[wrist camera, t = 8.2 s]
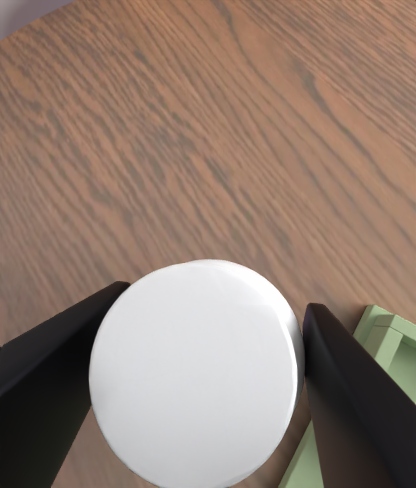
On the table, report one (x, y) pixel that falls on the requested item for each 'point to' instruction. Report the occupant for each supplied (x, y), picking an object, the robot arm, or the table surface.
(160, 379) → the pill bottle
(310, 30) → the table surface
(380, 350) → the socket pad
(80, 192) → the table surface
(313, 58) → the table surface
